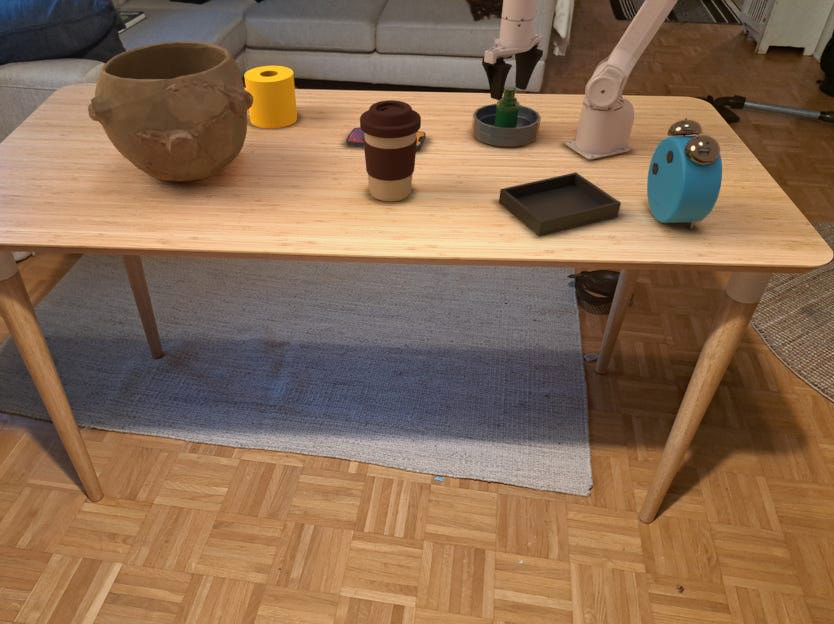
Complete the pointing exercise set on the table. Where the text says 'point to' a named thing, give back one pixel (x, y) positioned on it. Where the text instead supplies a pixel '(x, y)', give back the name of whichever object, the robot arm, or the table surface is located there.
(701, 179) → the alarm clock
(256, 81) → the yellow toilet paper roll
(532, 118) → the dish
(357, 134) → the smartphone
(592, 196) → the tray
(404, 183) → the coffee cup
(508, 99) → the bottle
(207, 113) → the bowl
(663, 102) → the table surface
